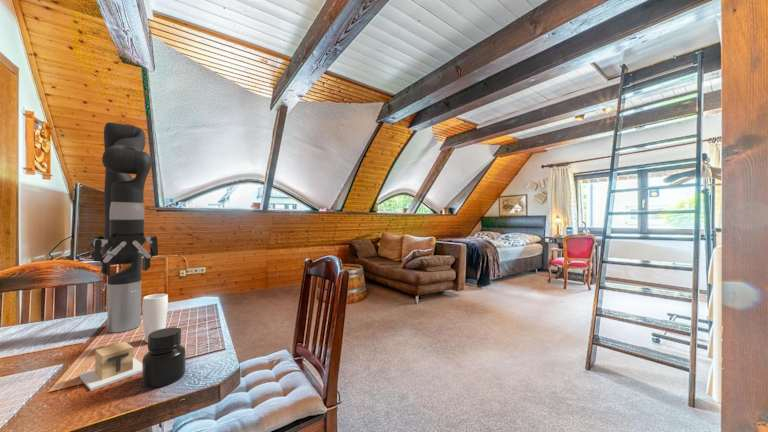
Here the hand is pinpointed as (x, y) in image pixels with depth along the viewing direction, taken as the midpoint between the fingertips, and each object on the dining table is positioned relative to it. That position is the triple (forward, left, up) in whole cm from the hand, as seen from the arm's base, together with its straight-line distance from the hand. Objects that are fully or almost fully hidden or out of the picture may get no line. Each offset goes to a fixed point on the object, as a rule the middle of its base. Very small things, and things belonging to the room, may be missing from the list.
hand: (126, 272), depth 83 cm
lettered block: (+7, -4, -25) cm, 26 cm away
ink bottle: (+21, +2, -26) cm, 33 cm away
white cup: (-8, +10, -26) cm, 28 cm away
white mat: (+7, -4, -25) cm, 27 cm away
